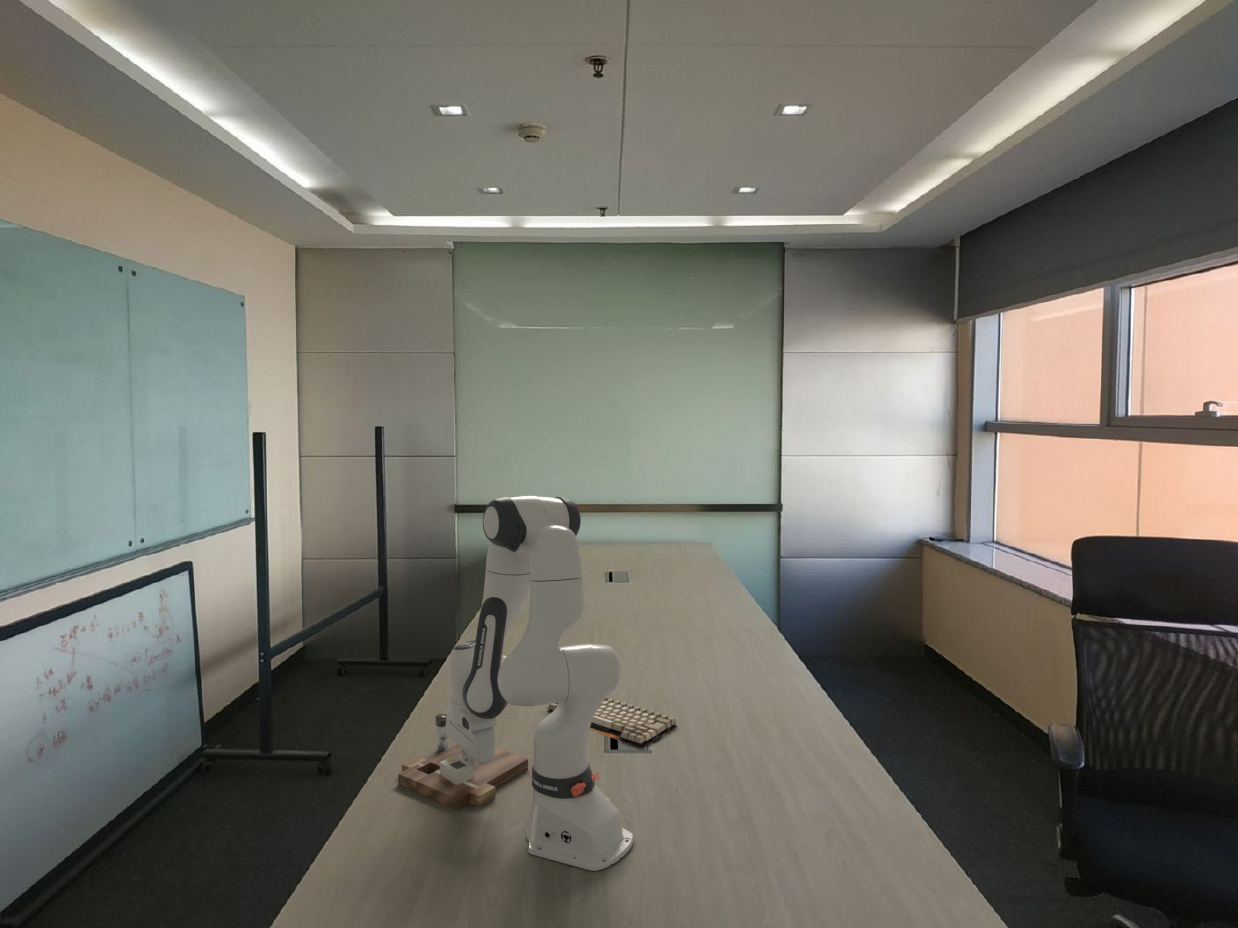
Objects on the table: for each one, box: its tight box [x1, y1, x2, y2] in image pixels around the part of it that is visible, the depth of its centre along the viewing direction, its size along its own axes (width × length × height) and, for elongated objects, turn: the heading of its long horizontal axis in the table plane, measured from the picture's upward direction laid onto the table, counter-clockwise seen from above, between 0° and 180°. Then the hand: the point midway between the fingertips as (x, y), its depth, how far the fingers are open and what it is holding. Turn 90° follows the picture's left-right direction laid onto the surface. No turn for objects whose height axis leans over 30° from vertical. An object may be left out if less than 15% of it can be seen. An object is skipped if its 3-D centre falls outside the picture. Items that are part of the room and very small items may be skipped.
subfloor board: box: [397, 744, 529, 811], centre depth 175 cm, size 26×23×2 cm
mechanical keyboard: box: [547, 696, 678, 749], centre depth 209 cm, size 38×19×3 cm, turn 53°
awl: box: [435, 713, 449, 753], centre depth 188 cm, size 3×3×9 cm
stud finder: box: [440, 756, 473, 785], centre depth 170 cm, size 7×4×3 cm, turn 44°
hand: (469, 767), depth 172 cm, fingers closed
